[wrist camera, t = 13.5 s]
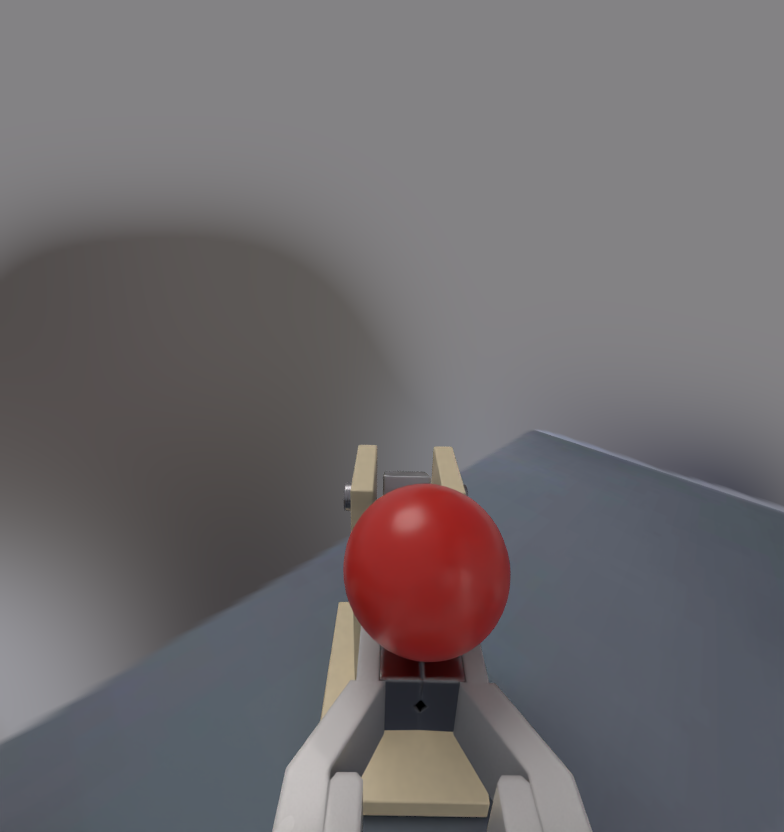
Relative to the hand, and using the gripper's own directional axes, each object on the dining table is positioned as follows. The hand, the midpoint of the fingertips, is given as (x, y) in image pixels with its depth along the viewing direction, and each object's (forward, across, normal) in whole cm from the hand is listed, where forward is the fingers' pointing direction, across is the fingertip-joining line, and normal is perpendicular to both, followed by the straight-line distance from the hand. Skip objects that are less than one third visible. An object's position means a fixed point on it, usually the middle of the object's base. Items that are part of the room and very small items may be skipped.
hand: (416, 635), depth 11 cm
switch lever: (+3, 0, +1) cm, 3 cm away
